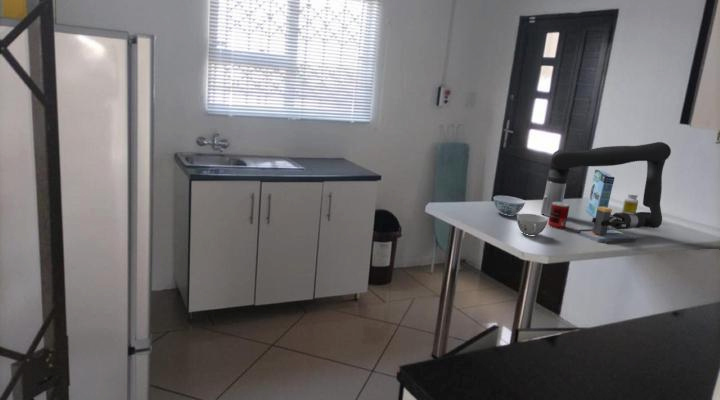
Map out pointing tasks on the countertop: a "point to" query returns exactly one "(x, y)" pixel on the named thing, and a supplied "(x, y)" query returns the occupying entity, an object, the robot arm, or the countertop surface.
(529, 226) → the teacup
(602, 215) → the block
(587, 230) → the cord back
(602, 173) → the gum box
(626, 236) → the blue rectangular board
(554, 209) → the canned food
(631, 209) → the supplement bottle
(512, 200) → the chinaware
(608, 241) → the dark grey long bar
